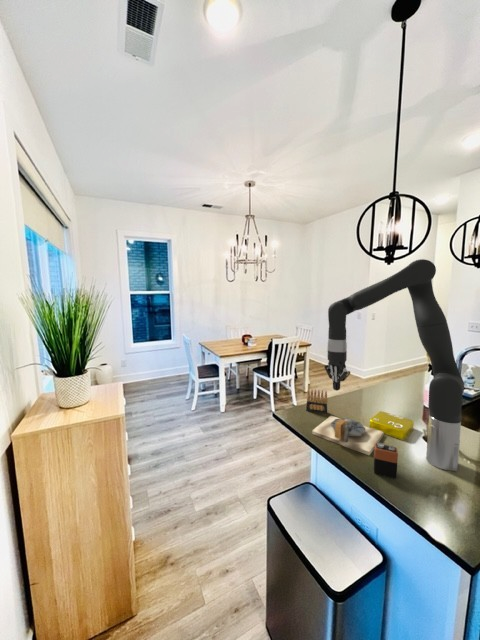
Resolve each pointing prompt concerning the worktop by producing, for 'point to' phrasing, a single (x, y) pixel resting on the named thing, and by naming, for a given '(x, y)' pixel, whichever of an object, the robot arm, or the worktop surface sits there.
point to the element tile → (392, 425)
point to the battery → (385, 460)
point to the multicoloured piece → (354, 431)
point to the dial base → (357, 443)
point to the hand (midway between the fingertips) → (336, 389)
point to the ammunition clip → (316, 402)
